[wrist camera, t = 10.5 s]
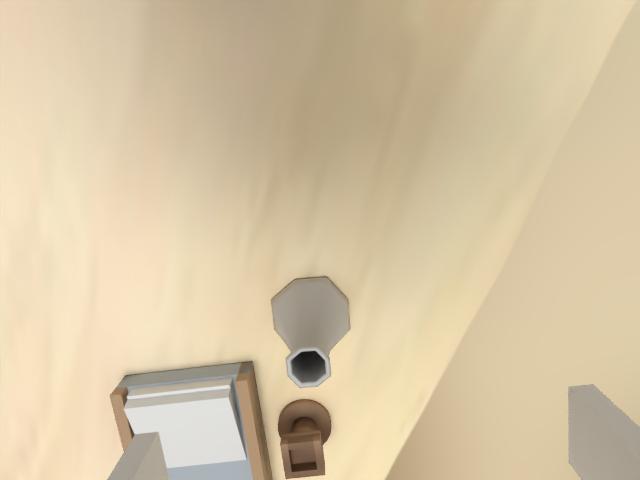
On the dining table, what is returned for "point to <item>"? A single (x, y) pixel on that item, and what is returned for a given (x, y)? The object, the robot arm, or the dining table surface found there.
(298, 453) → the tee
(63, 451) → the dining table surface
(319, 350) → the flask
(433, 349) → the dining table surface
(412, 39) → the dining table surface
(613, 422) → the robot arm
